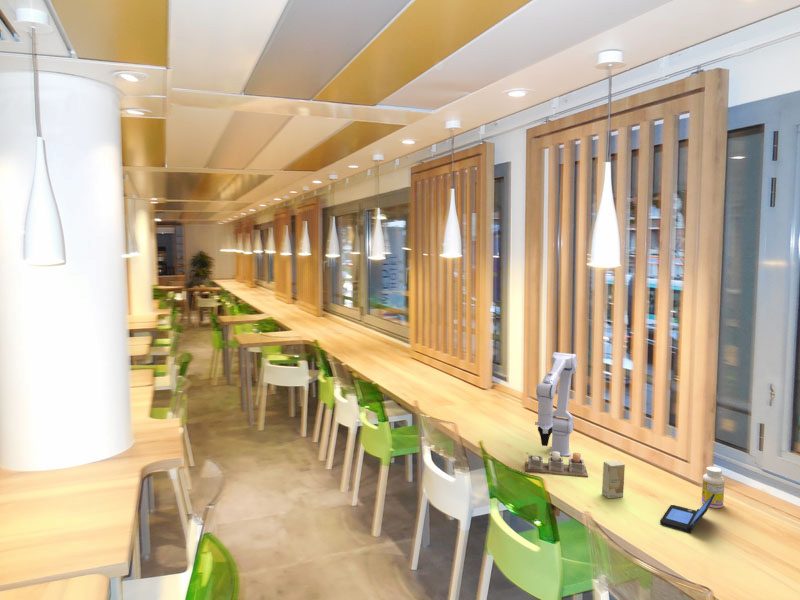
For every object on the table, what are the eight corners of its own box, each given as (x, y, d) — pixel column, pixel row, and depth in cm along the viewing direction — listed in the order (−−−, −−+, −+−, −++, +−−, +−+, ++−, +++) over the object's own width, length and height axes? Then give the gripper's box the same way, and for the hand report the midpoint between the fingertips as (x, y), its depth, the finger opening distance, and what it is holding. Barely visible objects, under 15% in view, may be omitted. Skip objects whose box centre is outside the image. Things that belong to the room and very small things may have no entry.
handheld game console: (670, 507, 193) (672, 482, 193) (714, 519, 185) (715, 492, 184) (658, 525, 181) (660, 498, 180) (704, 538, 173) (706, 510, 172)
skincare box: (608, 499, 200) (610, 466, 199) (601, 494, 204) (602, 461, 203) (624, 497, 201) (625, 464, 200) (616, 491, 206) (617, 459, 204)
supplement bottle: (703, 498, 200) (705, 463, 199) (724, 503, 196) (726, 468, 195) (699, 505, 195) (701, 469, 194) (721, 510, 191) (723, 474, 190)
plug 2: (551, 459, 228) (552, 450, 227) (559, 459, 227) (559, 451, 227) (552, 461, 225) (552, 453, 224) (559, 462, 224) (560, 454, 224)
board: (525, 462, 234) (525, 452, 233) (585, 467, 228) (585, 457, 228) (525, 472, 224) (525, 461, 223) (588, 477, 219) (588, 466, 218)
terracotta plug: (572, 460, 226) (572, 452, 226) (580, 461, 225) (580, 453, 225) (572, 463, 223) (573, 455, 223) (580, 464, 222) (581, 455, 222)
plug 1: (531, 464, 230) (531, 456, 229) (539, 464, 229) (539, 456, 229) (531, 466, 227) (531, 458, 226) (539, 467, 226) (539, 459, 226)
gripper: (535, 407, 233) (534, 438, 234) (535, 417, 219) (534, 450, 220) (552, 408, 231) (551, 439, 233) (553, 418, 217) (553, 452, 219)
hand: (544, 445), depth 226 cm, fingers closed
